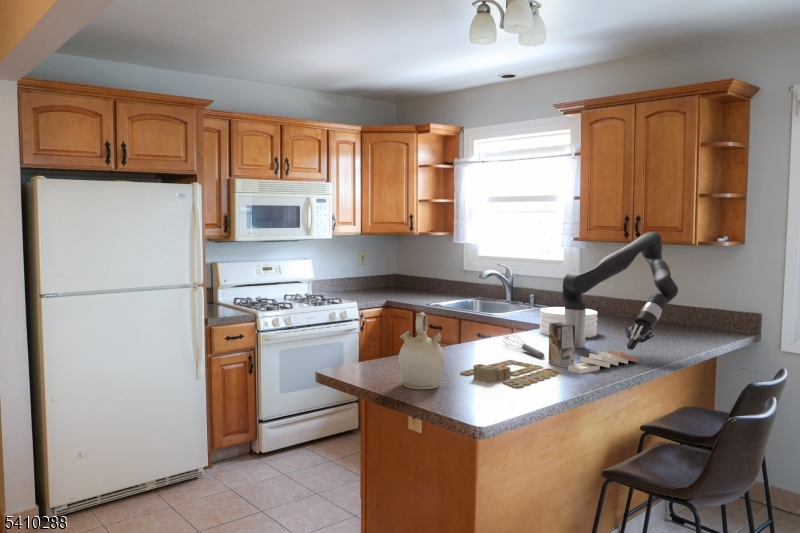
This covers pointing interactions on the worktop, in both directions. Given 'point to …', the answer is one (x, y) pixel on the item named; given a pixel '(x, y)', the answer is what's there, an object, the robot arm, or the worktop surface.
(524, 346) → the kitchen whisk
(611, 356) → the ivory tile
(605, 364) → the ivory tile
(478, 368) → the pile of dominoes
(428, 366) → the jug
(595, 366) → the ivory tile
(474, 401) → the worktop surface
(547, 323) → the plate stack
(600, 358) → the ivory tile
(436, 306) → the worktop surface
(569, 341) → the coffee box
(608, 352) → the rust tile
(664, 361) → the worktop surface
